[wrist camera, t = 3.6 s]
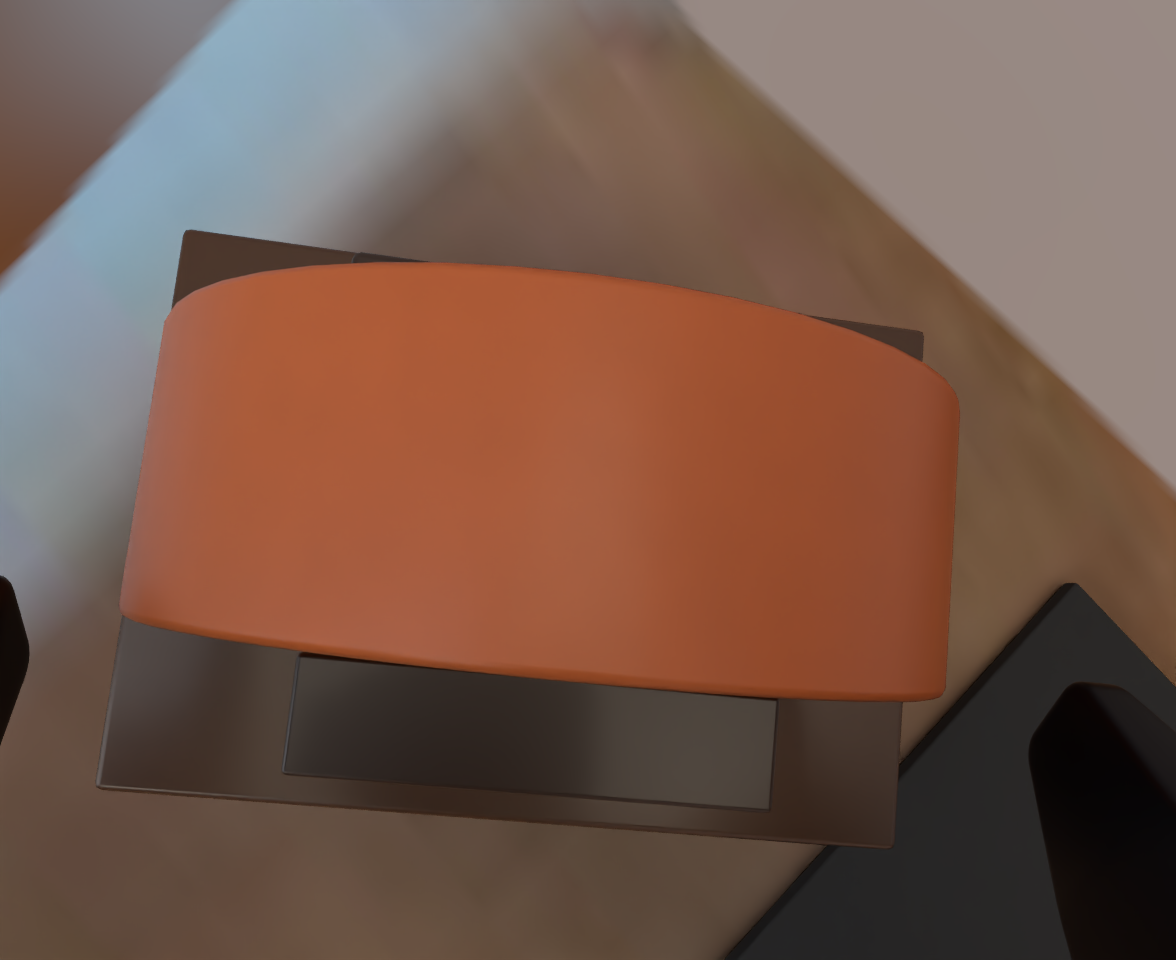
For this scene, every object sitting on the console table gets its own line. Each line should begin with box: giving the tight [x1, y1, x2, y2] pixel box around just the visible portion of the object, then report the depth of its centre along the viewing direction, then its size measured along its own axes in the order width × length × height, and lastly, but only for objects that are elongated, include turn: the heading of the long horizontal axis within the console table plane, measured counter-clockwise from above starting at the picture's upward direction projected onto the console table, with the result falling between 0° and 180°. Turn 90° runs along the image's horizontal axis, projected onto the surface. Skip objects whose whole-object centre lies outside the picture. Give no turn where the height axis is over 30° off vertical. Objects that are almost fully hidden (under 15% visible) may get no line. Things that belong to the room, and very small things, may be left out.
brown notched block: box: [95, 230, 924, 850], centre depth 14 cm, size 7×10×7 cm
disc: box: [119, 262, 960, 702], centre depth 9 cm, size 2×7×7 cm, turn 84°
